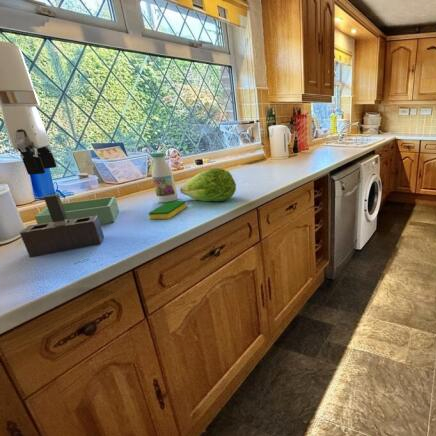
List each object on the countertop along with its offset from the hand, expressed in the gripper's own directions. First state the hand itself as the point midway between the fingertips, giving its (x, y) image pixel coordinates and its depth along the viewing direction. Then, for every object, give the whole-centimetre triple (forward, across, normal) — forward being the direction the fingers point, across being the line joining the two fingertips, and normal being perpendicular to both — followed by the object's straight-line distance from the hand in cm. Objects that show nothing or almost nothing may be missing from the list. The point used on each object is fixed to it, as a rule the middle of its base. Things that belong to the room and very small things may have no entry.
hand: (43, 170), depth 78 cm
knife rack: (+22, 0, 0) cm, 22 cm away
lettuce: (+22, -28, +40) cm, 54 cm away
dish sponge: (+22, -18, +26) cm, 38 cm away
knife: (+22, 0, 0) cm, 22 cm away
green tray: (+22, -25, -1) cm, 33 cm away
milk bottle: (+22, -38, +26) cm, 51 cm away
